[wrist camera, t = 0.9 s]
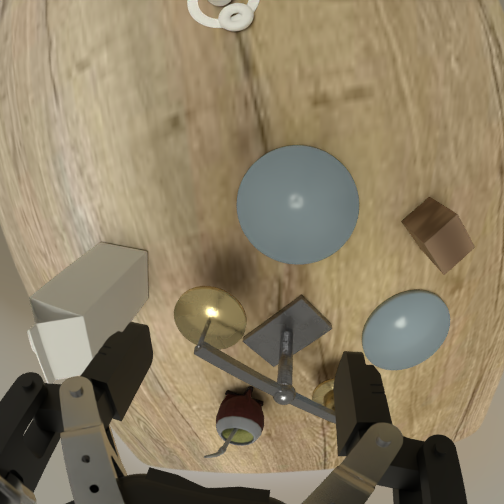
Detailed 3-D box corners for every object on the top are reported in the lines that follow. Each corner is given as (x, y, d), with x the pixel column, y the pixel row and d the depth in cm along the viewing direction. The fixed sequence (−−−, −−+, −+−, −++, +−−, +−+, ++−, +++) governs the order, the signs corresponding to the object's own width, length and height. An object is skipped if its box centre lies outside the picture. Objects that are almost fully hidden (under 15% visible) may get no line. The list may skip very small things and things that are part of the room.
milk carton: (148, 250, 38) (58, 343, 20) (149, 298, 40) (77, 399, 23) (101, 241, 38) (3, 318, 20) (104, 287, 41) (24, 373, 23)
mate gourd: (257, 414, 47) (245, 490, 34) (212, 400, 47) (191, 475, 33) (274, 389, 44) (266, 473, 31) (226, 373, 44) (204, 456, 30)
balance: (234, 229, 35) (204, 289, 23) (375, 368, 41) (393, 443, 28) (180, 280, 39) (136, 349, 26) (321, 399, 44) (325, 472, 32)
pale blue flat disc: (301, 119, 30) (301, 119, 29) (379, 210, 32) (382, 213, 31) (214, 202, 34) (211, 204, 33) (293, 281, 37) (293, 285, 36)
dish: (423, 270, 34) (426, 274, 33) (459, 328, 37) (461, 332, 36) (343, 331, 39) (344, 335, 38) (389, 378, 42) (391, 382, 41)
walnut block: (429, 196, 31) (457, 214, 25) (446, 225, 32) (475, 247, 25) (401, 221, 33) (424, 243, 26) (420, 248, 33) (443, 275, 27)
